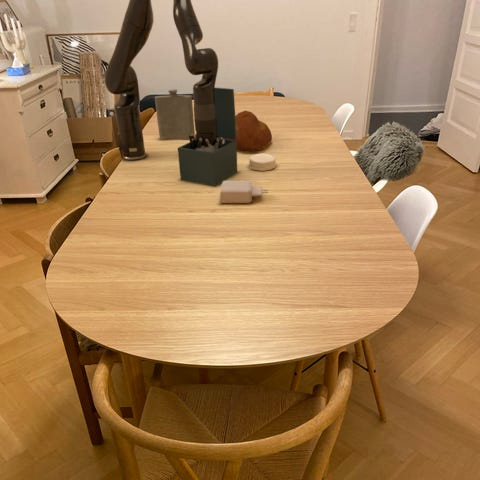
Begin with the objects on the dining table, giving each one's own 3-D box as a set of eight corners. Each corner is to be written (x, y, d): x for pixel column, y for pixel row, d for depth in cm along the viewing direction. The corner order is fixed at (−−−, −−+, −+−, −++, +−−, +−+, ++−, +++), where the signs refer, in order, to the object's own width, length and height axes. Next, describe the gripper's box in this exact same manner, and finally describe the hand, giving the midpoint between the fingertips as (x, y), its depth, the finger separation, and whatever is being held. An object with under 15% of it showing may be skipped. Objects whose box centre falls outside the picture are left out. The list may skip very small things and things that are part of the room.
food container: (214, 178, 164) (213, 149, 158) (198, 177, 165) (195, 148, 160) (223, 166, 174) (221, 139, 168) (206, 166, 175) (204, 138, 169)
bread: (224, 155, 189) (222, 123, 182) (221, 133, 216) (220, 104, 208) (276, 153, 190) (276, 121, 183) (267, 131, 216) (267, 102, 209)
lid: (232, 89, 156) (240, 85, 159) (195, 86, 161) (204, 82, 165) (235, 139, 166) (243, 134, 170) (201, 135, 172) (209, 130, 176)
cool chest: (215, 186, 163) (213, 153, 156) (180, 180, 169) (177, 147, 162) (237, 172, 173) (236, 140, 167) (204, 166, 179) (201, 136, 173)
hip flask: (159, 140, 210) (153, 91, 198) (160, 137, 213) (154, 89, 201) (194, 139, 209) (190, 90, 197) (195, 136, 212) (191, 88, 200)
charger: (267, 204, 149) (220, 204, 150) (268, 193, 156) (223, 193, 157) (268, 190, 146) (220, 189, 147) (268, 179, 153) (223, 179, 154)
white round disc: (243, 167, 177) (243, 158, 175) (261, 160, 183) (261, 151, 181) (264, 173, 172) (264, 163, 170) (281, 166, 178) (281, 156, 175)
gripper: (229, 116, 158) (231, 165, 169) (193, 112, 164) (197, 160, 174) (217, 121, 153) (220, 172, 163) (181, 117, 159) (186, 166, 169)
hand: (208, 166), depth 169 cm, fingers closed on food container, 5 cm apart
